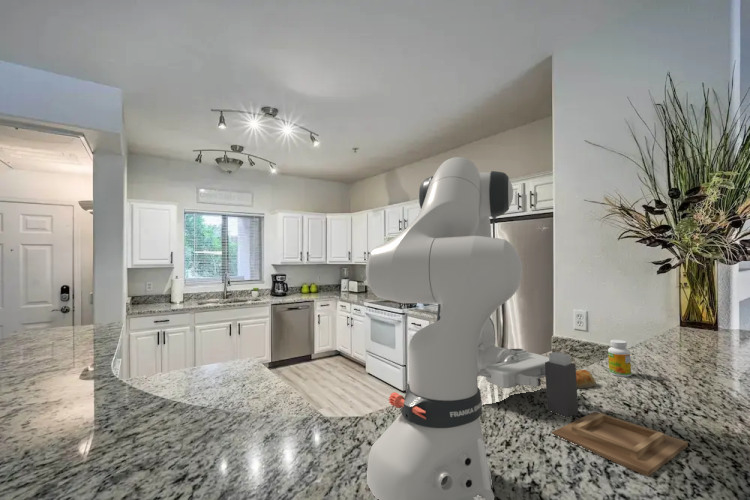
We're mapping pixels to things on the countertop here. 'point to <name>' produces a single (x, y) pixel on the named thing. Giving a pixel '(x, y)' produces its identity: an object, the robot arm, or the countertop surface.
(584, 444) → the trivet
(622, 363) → the supplement bottle
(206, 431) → the countertop surface
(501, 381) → the robot arm
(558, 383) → the capped dark pillar
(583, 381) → the pastry
